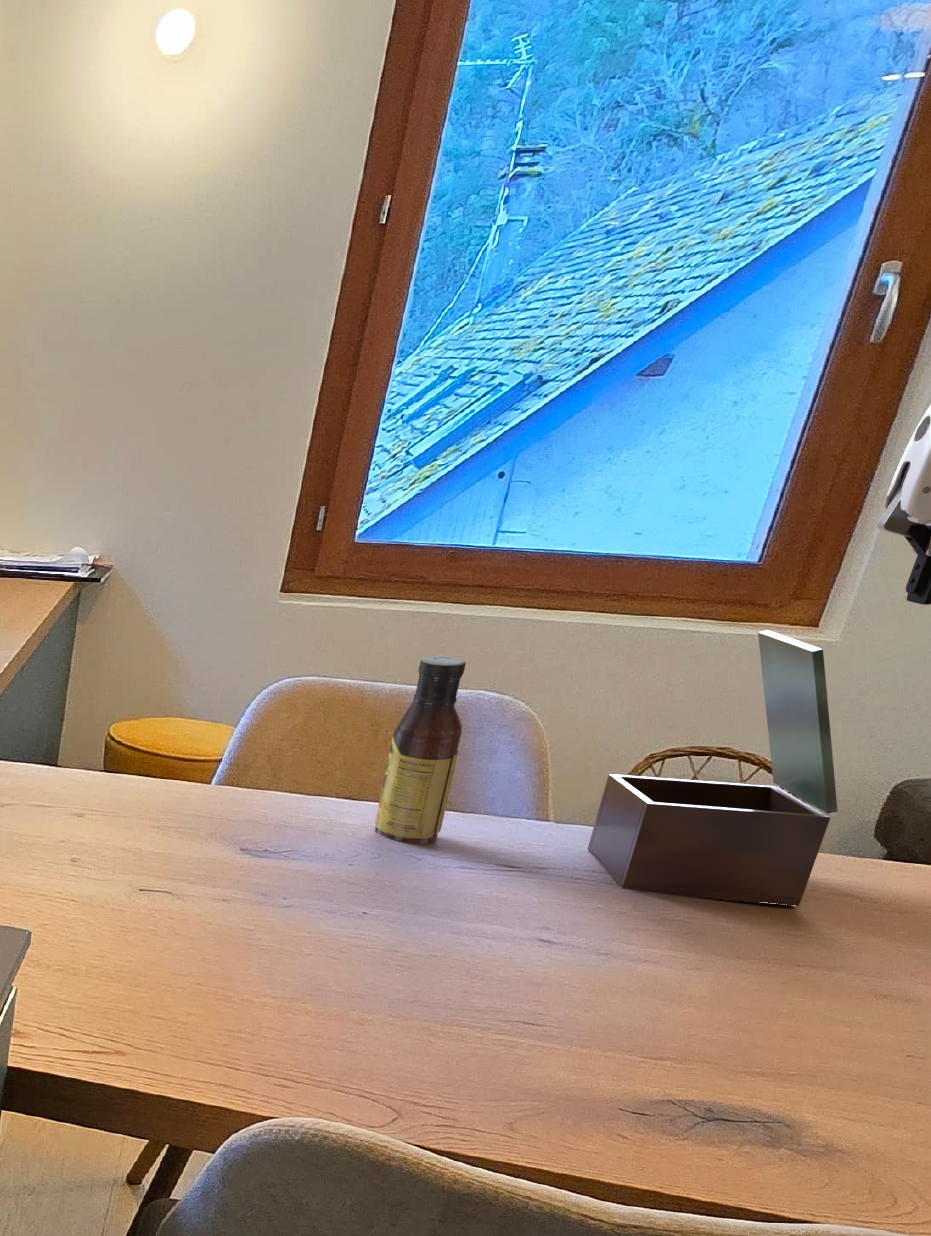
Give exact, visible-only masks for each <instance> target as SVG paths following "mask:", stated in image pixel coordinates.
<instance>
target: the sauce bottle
mask: <svg viewBox="0 0 931 1236" xmlns="http://www.w3.org/2000/svg"><path fill="white" fill-rule="evenodd" d="M465 669H466V661H465V659H462V658H459V657H455V656H449V655H448V656H447V655H427V656H423V657H422V658H421V659H420V662H419V666H418V670H417V672H418V675H419V676H418V678H417V679H418V680H417V685H416V690H415V693H414V695H413V700H412V701H411V703H410V705H409V707H408V708H407V709H406V712H405V713H404V715H403V716H402V718H401V719H400V721H399V723H398V725H397V726H396V728H395V729H394V731H393V734H392V738H391V742H390V744H391V745H390V748H389V753H388V759H387V762H386V763H387V764H386V768H385V773H384V777H383V781H382V788H381V793H380V797H379V801H378V807H377V811H376V817H375V822H374V827H375V829H374V832H375V833H377V834H378V835H379V836H381V837H384V838H386V839H389V840H393V841H396V842H402V843H406V844H407V843H408V844H414V845H415V844H416V845H433V844H435V843H436V842H437V841H438V835H439V833H440V832H441V830H442V826H443V821H444V818H445V813H446V809H447V804H448V799H449V796H450V795H449V794H450V791H451V786H452V783H453V778H454V772H455V769H456V764H457V760H458V756H459V746H460V741H461V736H462V732H463V726H462V722H461V719H460V715H459V714H458V712H457V709H456V707H455V704H456V703H457V700H458V699H457V696H458V695H457V694H458V691H459V687H460V682H461V679H462V677H463V676H464V673H465Z"/></svg>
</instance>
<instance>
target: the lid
mask: <svg viewBox="0 0 931 1236" xmlns="http://www.w3.org/2000/svg"><path fill="white" fill-rule="evenodd" d="M757 637H758V647H759V656H760V666H761V667H760V668H761V675H762V685H763V694H764V695H763V696H764V704H765V705H764V706H765V714H766V715H765V716H766V722H767V725H766V726H767V733H768V734H767V735H768V744H769V753H770V761H771V762H770V763H771V773H772V781H773V782H772V783H773V784H775V785H776V786H778V787H779V788H781V789H783V790H785V791H786V792H788V793H791V795H793V796H795V797H798V799H800V800H803V801H804V802H805V803H808V804H810V806H811V805H812V806H814V808H817V810H819V811H821V812H824V814H826V815H828V814H832V813H837V812H838V800H837V790H836V779H835V767H834V756H833V745H832V744H833V743H832V735H831V722H830V712H829V700H828V690H827V677H826V666H825V655H824V649H823V648H820V647H819V646H816V645H812V644H809V643H806V642H803V641H800V640H798V639H794V638H792V637H790V636H786V635H784V634H780V633H778V632H775V631H772V630H770V629H766V630H761V631H758V632H757Z"/></svg>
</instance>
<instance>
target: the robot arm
mask: <svg viewBox="0 0 931 1236" xmlns="http://www.w3.org/2000/svg"><path fill="white" fill-rule="evenodd" d="M884 501H885V502H884V509H885V511H884V512H883V514H882V516H881V517H880V519H879V520H878V522H877V524H876V526H877V528H878V530H880V531H885V532H888V533H891V534H895V535H899V536H903V537H904V538H905V540H906V541H907V542H908V543H909V545H910V546H911V547H912V552H913V554H915V555H916V558H915V561H914V563H913V567H912V569H911V571H910V575H909V577H908V580H907V583H906V586H905V592H906V594H907V595H906V601H907V602H911V603H913V604H914V603H915V604H919V605H924V606H925V605H926V606H930V605H931V404H930V405H929V406H928V408H927V409H926V411H925V413H924V414H923V416H922V418H921V420H920V421H919V423H918V425H917V427H916V428H915V430H914V432H913V434H912V435H911V437H910V439H909V442H908V444H907V446H906V448H905V449H904V452H903V455H902V456H901V459H900V461H899V463H898V465H897V467H896V470H895V472H894V474H893V478H892V479H891V483H890V485H889V488H888V490H887V494H886V497H885V500H884ZM909 518H914V519H917V522H915V521H912V520H910V519H909Z"/></svg>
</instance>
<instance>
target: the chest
mask: <svg viewBox="0 0 931 1236" xmlns="http://www.w3.org/2000/svg"><path fill="white" fill-rule="evenodd" d="M830 820H831V817H830V816H828V814H826V813H823V812H822V811H821V810H819V809H816V807H812V806H811V805H809V803H808V804H807V802H805V801H802V799H800V798H797V796H795V795H793V794H790V792H788V791H786V790H785V789H783V788H781V787H780V786H778V785H764V784H752V783H739V782H723V781H712V780H711V781H710V780H709V781H708V780H697V779H696V780H695V779H683V778H669V777H667V778H666V777H656V776H655V777H653V776H641V775H627V774H626V775H625V774H612V773H611V774H610V773H609V774H608V775H607V779H606V783H605V786H604V790H603V793H602V796H601V800H600V803H599V807H598V810H597V814H596V817H595V820H594V823H593V828H592V832H591V835H590V839H589V841H588V846H587V851H589V853H590V854H591V855H592V856H593V857H594V858H595V859H596V861H597V862H598V863H599V864H600V865H601V866H602V868H603V869H604V870H605V871H606V873H607V874H608V875H609V876H610V878H612V879H613V881H614V882H615V883H616V884H617V885H618V886H619V887H620V888H622V889H625V890H630V891H631V890H632V891H639V892H647V893H655V894H662V895H671V896H678V897H686V896H688V897H687V898H696V897H699V898H698V899H701V898H700V897H703V898H702V899H707V898H712V899H711V900H717V899H722V900H721V901H728V900H729V901H730V900H731V901H732V902H739V901H744V902H743V903H750V902H768V903H776V904H777V903H778V904H785V905H786V904H787V905H796V906H799V907H800V905H801V902H802V899H803V896H804V894H805V891H806V888H807V885H808V882H809V879H810V877H811V874H812V871H813V868H814V865H815V863H816V860H817V857H818V854H819V851H820V849H821V846H822V842H823V840H824V838H825V834H826V831H827V829H828V826H829V823H830ZM734 900H735V901H734ZM731 901H730V902H731Z"/></svg>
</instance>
